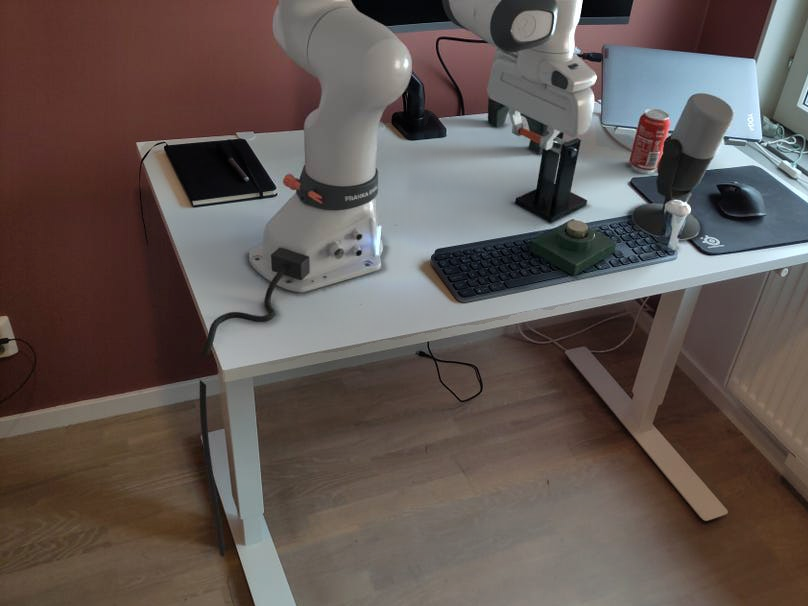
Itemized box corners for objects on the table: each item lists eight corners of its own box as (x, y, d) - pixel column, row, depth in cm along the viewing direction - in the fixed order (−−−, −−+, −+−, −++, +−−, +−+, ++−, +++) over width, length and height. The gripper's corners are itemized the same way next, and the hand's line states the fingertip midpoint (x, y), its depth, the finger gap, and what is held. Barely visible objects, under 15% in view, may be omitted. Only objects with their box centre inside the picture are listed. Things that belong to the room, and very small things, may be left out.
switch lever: (538, 147, 141) (544, 134, 140) (516, 136, 143) (522, 123, 143) (572, 159, 151) (578, 147, 151) (551, 149, 154) (557, 137, 153)
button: (577, 242, 142) (579, 233, 141) (561, 233, 144) (563, 224, 143) (590, 235, 144) (592, 226, 143) (573, 226, 146) (575, 217, 145)
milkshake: (686, 247, 152) (701, 198, 145) (669, 256, 149) (683, 207, 142) (666, 236, 154) (680, 188, 148) (649, 244, 151) (662, 196, 145)
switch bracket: (550, 223, 153) (563, 155, 144) (514, 203, 157) (524, 136, 149) (586, 205, 160) (600, 139, 151) (550, 187, 164) (562, 121, 155)
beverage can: (655, 162, 178) (669, 109, 170) (659, 176, 173) (674, 121, 165) (626, 159, 178) (639, 105, 170) (630, 172, 173) (643, 118, 165)
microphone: (671, 248, 151) (710, 118, 135) (618, 216, 158) (649, 89, 142) (712, 228, 158) (754, 103, 142) (660, 199, 165) (694, 76, 149)
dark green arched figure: (559, 154, 176) (576, 60, 163) (537, 160, 173) (552, 65, 160) (500, 117, 187) (512, 27, 174) (478, 123, 184) (488, 31, 171)
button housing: (573, 276, 140) (577, 256, 138) (529, 250, 145) (532, 231, 143) (614, 252, 148) (619, 233, 145) (570, 229, 152) (574, 210, 150)
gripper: (484, 44, 137) (475, 123, 146) (581, 86, 127) (565, 168, 136) (509, 38, 141) (499, 115, 150) (605, 78, 131) (588, 158, 140)
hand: (531, 141), depth 143 cm, fingers closed on switch lever, 5 cm apart
